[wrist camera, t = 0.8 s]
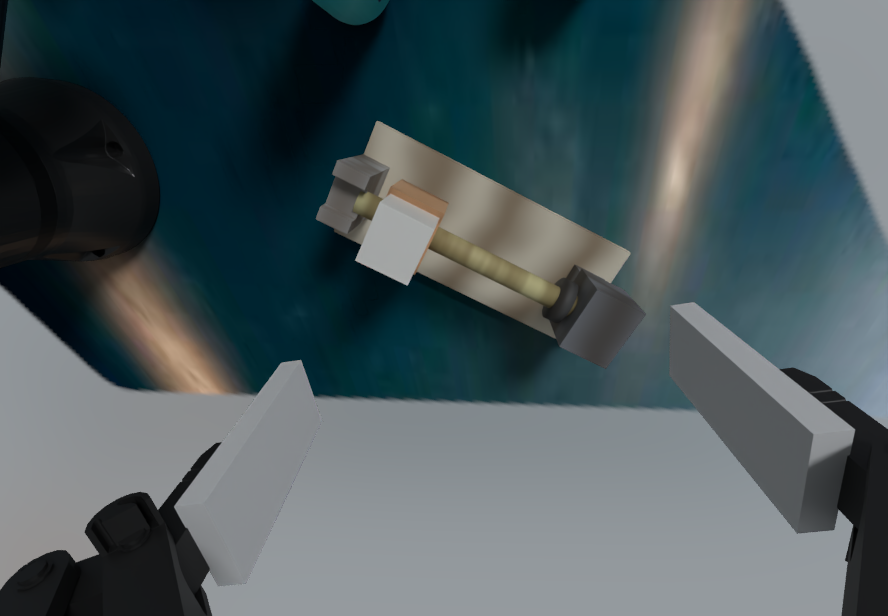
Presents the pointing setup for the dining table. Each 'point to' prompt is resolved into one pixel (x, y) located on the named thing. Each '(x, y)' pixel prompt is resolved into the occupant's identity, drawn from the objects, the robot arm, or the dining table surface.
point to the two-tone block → (401, 231)
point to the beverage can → (353, 10)
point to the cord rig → (495, 245)
